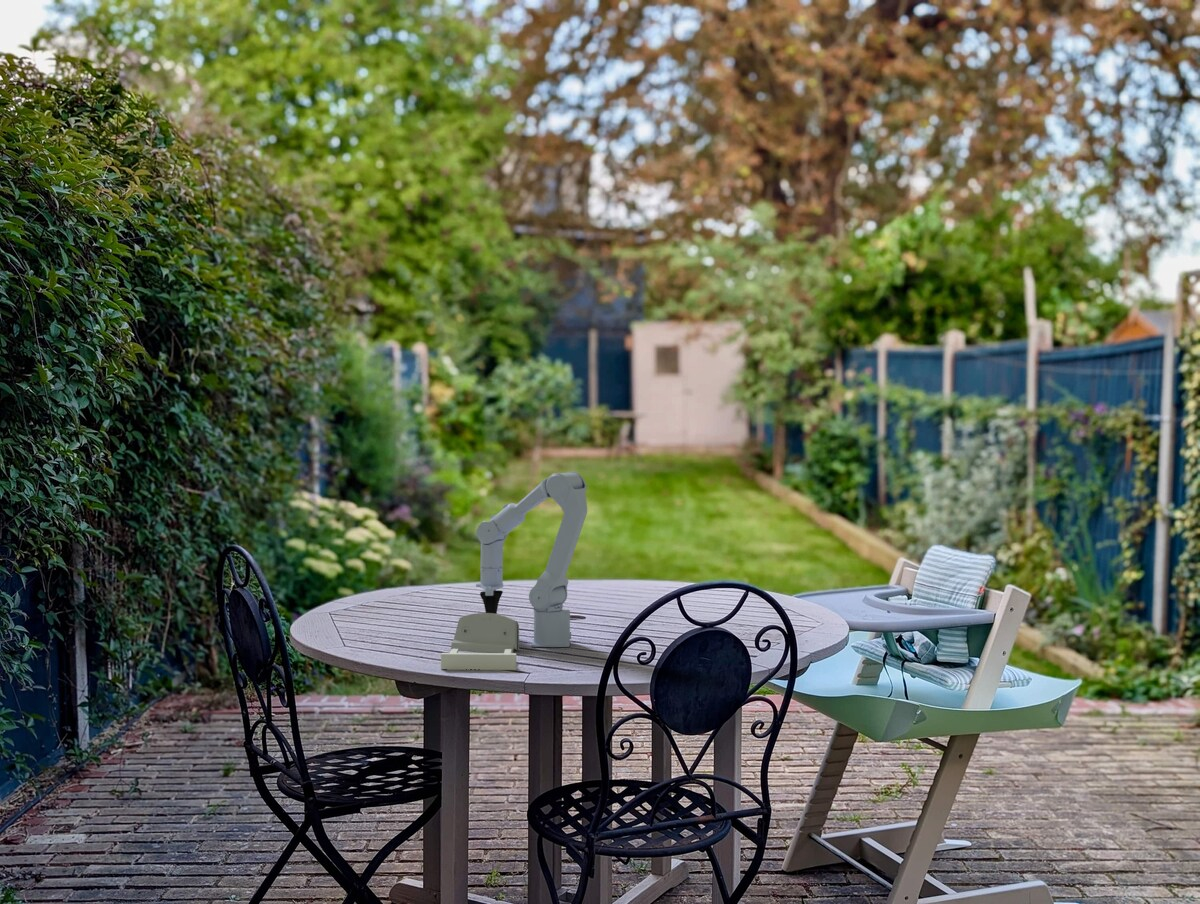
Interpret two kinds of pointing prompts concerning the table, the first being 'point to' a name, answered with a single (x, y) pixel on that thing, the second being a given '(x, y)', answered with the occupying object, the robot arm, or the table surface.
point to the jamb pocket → (478, 660)
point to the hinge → (486, 633)
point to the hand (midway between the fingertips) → (491, 619)
